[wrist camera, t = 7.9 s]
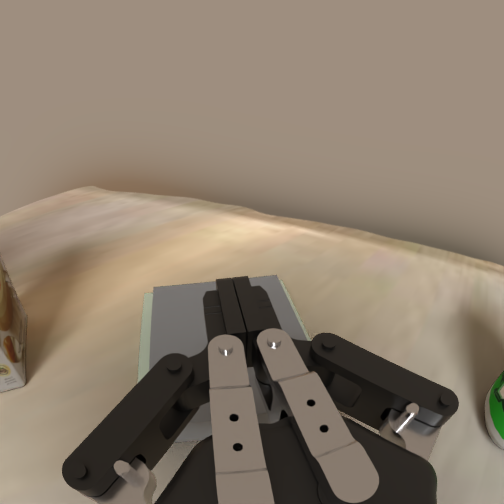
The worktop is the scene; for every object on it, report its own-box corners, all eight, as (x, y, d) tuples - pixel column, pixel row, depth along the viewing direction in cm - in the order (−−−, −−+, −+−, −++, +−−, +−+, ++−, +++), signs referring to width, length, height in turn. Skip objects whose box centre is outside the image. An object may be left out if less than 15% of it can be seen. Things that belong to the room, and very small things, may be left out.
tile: (334, 397, 15) (276, 274, 25) (149, 425, 13) (153, 286, 23) (323, 419, 16) (274, 300, 26) (161, 444, 14) (159, 312, 24)
